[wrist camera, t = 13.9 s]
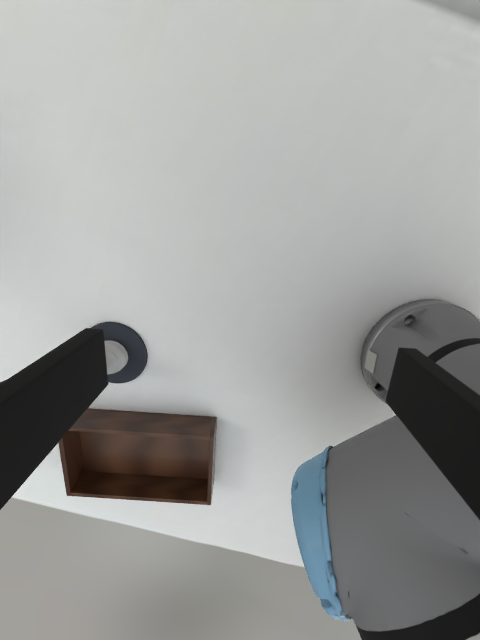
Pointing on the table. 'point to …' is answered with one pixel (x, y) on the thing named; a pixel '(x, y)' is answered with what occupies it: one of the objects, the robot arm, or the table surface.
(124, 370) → the coaster
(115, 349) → the rook chess piece
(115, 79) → the table surface
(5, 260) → the table surface
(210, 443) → the tray
